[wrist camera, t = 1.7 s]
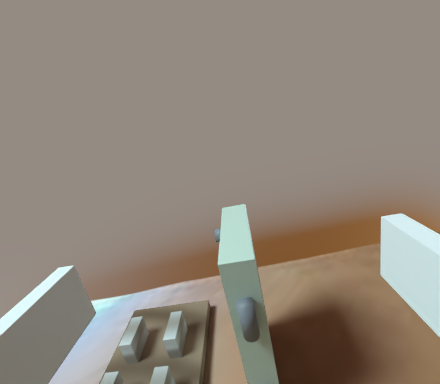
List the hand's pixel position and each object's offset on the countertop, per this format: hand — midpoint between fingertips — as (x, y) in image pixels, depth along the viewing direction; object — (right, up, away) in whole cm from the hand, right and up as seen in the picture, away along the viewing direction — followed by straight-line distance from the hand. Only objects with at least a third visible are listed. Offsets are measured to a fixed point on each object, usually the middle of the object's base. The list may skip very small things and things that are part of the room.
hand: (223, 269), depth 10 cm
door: (+5, -17, +16) cm, 23 cm away
